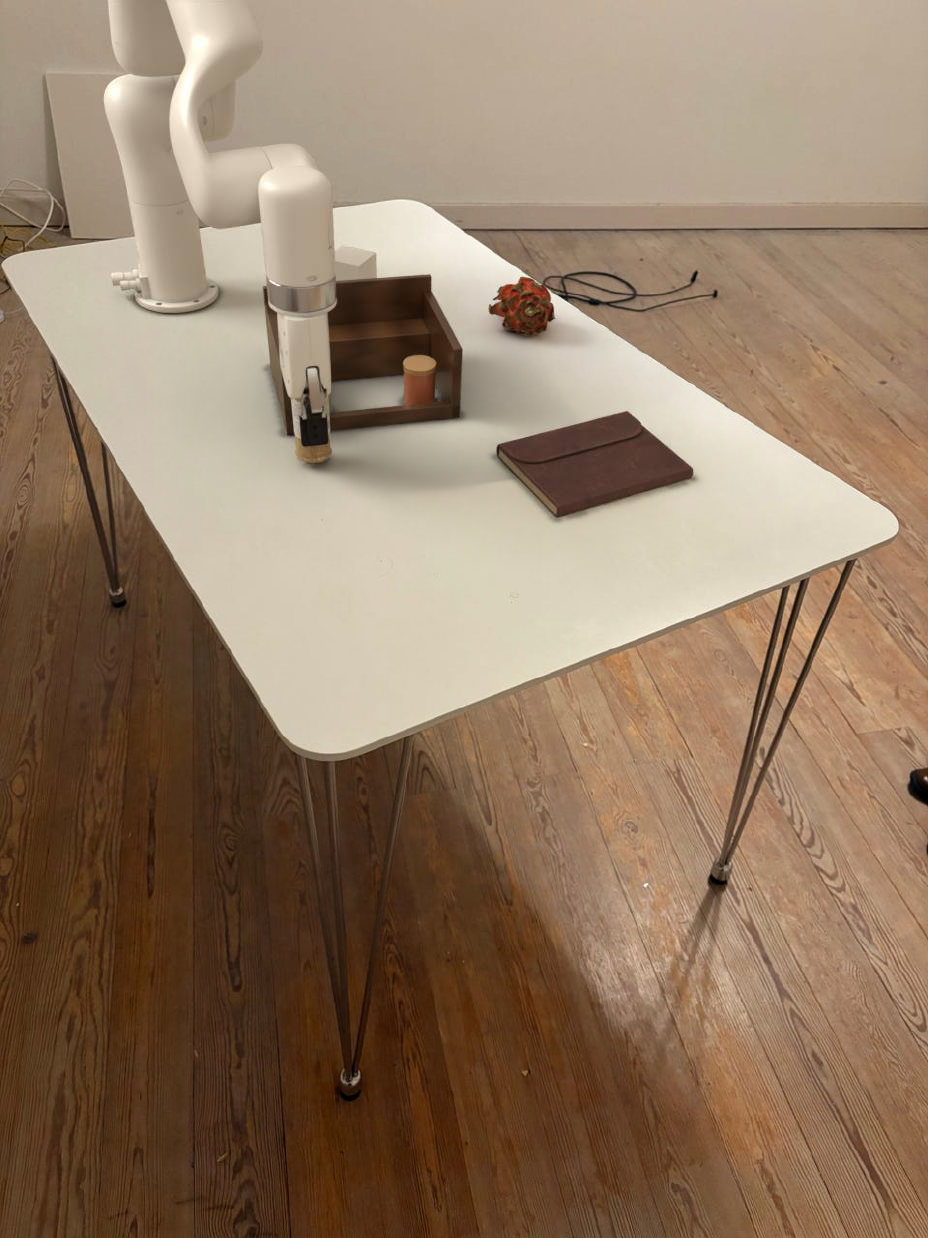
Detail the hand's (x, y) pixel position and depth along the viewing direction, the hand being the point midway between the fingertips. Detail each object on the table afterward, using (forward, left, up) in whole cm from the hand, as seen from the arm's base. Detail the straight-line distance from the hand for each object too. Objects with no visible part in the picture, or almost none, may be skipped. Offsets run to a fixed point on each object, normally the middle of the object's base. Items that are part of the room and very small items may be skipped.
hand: (311, 431), depth 123 cm
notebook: (+34, -8, -5) cm, 35 cm away
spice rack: (+9, +16, -4) cm, 19 cm away
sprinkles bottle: (0, 0, -4) cm, 4 cm away
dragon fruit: (+36, +30, -5) cm, 47 cm away
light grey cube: (+13, +47, -5) cm, 49 cm away
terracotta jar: (+16, +11, -4) cm, 20 cm away
